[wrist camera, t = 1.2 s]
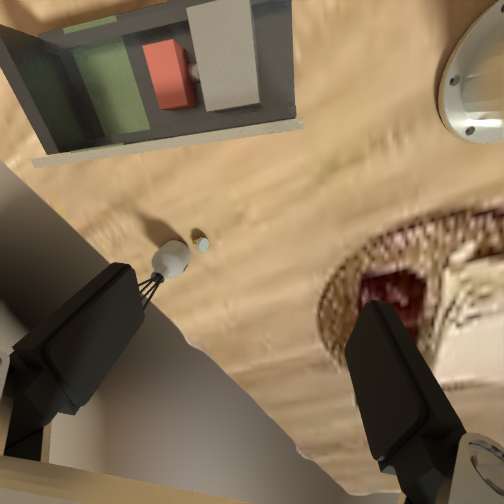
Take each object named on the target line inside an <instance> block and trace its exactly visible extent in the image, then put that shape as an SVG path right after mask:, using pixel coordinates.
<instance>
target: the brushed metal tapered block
mask: <svg viewBox="0 0 504 504" xmlns="http://www.w3.org/2000/svg"><path fill="white" fill-rule="evenodd" d="M186 10H187V15H188V20H189V25H190V30H191V36H192V41H193V46H194V51H195V56H196V61H197V62H195V63H190V64H189V73H190V77H191V80H192V82H193V84H198V83H201V86H202V91H203V96H204V101H205V107H206V112H212V113H217V114H220V113H226V112H232V111H238V110H244V109H250V108H256V107H262V97H261V86H260V76H259V65H258V54H257V44H256V33H255V22H254V16H253V11H252V7H251V2H250V0H217V1H212V2H208V3H204V4H200V5H196V6H192V7H188V8H186Z"/></svg>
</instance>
